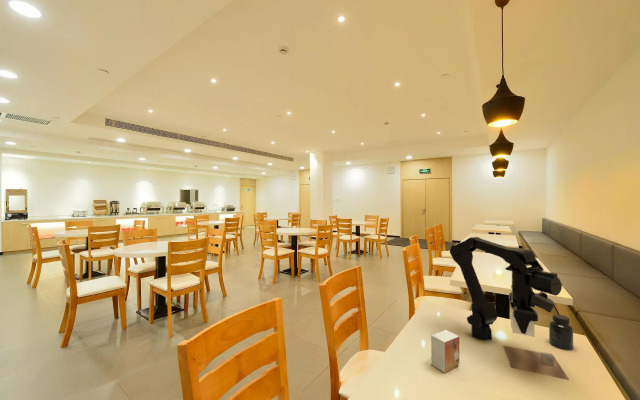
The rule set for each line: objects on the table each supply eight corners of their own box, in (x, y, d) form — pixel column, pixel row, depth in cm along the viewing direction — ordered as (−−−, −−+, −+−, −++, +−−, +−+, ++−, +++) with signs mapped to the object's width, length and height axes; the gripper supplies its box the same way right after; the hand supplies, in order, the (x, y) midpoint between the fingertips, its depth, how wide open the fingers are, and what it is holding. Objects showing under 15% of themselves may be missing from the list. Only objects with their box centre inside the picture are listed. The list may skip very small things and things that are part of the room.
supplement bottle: (578, 353, 96) (578, 321, 96) (556, 352, 98) (556, 320, 97) (564, 343, 103) (564, 313, 103) (545, 341, 104) (544, 312, 104)
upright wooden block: (542, 363, 90) (542, 353, 90) (541, 361, 91) (541, 351, 91) (553, 366, 88) (553, 355, 88) (552, 363, 89) (552, 353, 89)
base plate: (511, 370, 88) (511, 367, 88) (502, 347, 101) (502, 345, 101) (569, 383, 82) (569, 380, 82) (552, 357, 94) (552, 354, 94)
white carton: (534, 337, 88) (534, 322, 88) (512, 332, 91) (512, 318, 91) (531, 329, 93) (531, 314, 93) (510, 325, 96) (510, 311, 96)
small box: (444, 373, 87) (444, 342, 87) (430, 364, 92) (430, 334, 92) (460, 366, 91) (460, 336, 91) (445, 357, 96) (445, 329, 96)
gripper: (559, 299, 80) (559, 349, 80) (546, 281, 96) (546, 323, 96) (513, 292, 86) (514, 339, 86) (508, 276, 102) (509, 316, 102)
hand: (522, 329), depth 92 cm, fingers closed on white carton, 6 cm apart
